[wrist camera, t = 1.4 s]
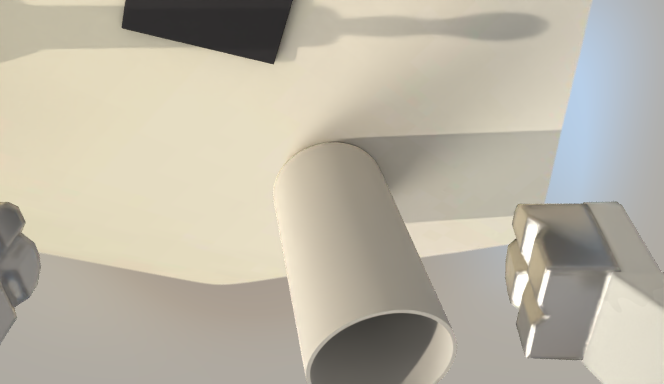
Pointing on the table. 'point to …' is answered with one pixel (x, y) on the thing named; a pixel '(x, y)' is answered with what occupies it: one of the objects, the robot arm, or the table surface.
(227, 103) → the table surface
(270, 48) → the charcoal mat
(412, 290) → the cylinder vase
